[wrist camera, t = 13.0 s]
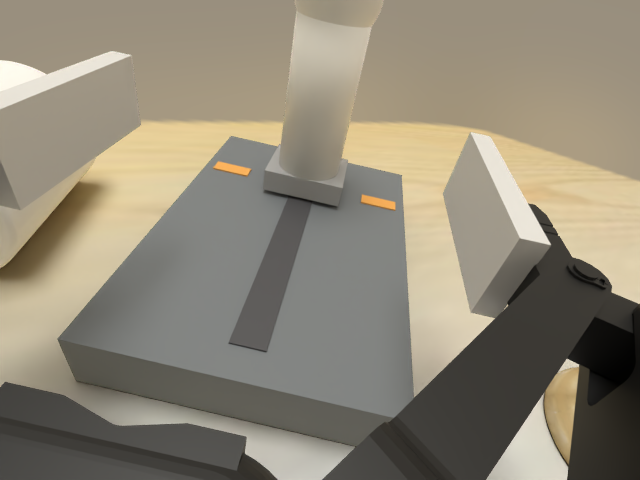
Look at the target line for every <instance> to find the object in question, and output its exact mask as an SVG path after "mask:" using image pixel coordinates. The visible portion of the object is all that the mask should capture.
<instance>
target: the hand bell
mask: <svg viewBox="0 0 640 480" xmlns="http://www.w3.org/2000/svg"><path fill="white" fill-rule="evenodd" d="M578 373H579V367H577V368H570V369H566V370H563V371H561V372H559V373H557V374H556V375H555V377H554V378H553V380H552V381H551V383H550V384H549V386H548V387H547V389H546V391H545V399H544V407H545V413H546V420H547V423H548V426H549V429H550V432H551V434H552V437H553V439H554V441H555V444H556V445H557V447H558V449H559V451H560V453H561V454H562V456H563V458H564V459H565V461H566V462H567V464H568V465H569V458H570V449H571V439H572V430H573V421H574V411H575V402H576V392H577V383H578Z"/></svg>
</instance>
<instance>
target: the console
mask: <svg viewBox="0 0 640 480" xmlns="http://www.w3.org/2000/svg"><path fill="white" fill-rule="evenodd" d="M277 148H278V147H277V146H273V145H268V144H264V143H260V142H255V141H251V140H247V139H242V138H238V137H234V136H231V137H230V138H229V139H228V140H227V141H226V143H225V144H224V145H223V146H222V147H221V149H220V150H219V151H218V152H217V153H216V154H215V156H214V157H213V158H212V159H211V160H210V161H209V163H208V164H207V165H206V166H205V167H204V168H203V170H202V171H201V172H200V173H199V174H198V175H197V177H196V178H195V179H194V180H193V181H192V182H191V184H190V185H189V186H188V187H187V188H186V189H185V191H184V192H183V193H182V194H181V195H180V196H179V198H178V199H177V200H176V201H175V202H174V203H173V205H172V206H171V207H170V208H169V209H168V210H167V212H166V213H165V214H164V215H163V216H162V217H161V219H160V220H159V221H158V222H157V223H156V224H155V226H154V227H153V228H152V229H151V230H150V231H149V233H148V234H147V235H146V236H145V237H144V238H143V240H142V241H141V242H140V243H139V244H138V245H137V247H136V248H135V249H134V250H133V251H132V252H131V254H130V255H129V256H128V257H127V258H126V259H125V261H124V262H123V263H122V264H121V265H120V266H119V268H118V269H117V270H116V271H115V272H114V273H113V275H112V276H111V277H110V278H109V279H108V280H107V282H106V283H105V284H104V285H103V286H102V287H101V289H100V290H99V291H98V292H97V293H96V295H95V296H94V297H93V298H92V299H91V300H90V302H89V303H88V304H87V305H86V306H85V307H84V309H83V310H82V311H81V312H80V313H79V314H78V316H77V317H76V318H75V319H74V320H73V321H72V323H71V324H70V325H69V326H68V327H67V328H66V330H65V331H64V332H63V333H62V334H61V335H60V337H59V338H58V342H59V344H60V346H61V348H62V351H63V353H64V355H65V357H66V360H67V362H68V364H69V366H70V368H71V371H72V373H73V375H74V377H75V380H76V381H80V382H84V383H89V384H93V385H97V386H101V387H106V388H110V389H114V390H118V391H123V392H127V393H131V394H135V395H140V396H144V397H148V398H152V399H157V400H161V401H165V402H169V403H174V404H178V405H182V406H186V407H191V408H195V409H199V410H203V411H208V412H212V413H216V414H220V415H225V416H229V417H233V418H238V419H242V420H246V421H250V422H255V423H259V424H263V425H267V426H272V427H276V428H280V429H284V430H289V431H293V432H297V433H301V434H306V435H310V436H314V437H318V438H323V439H327V440H331V441H335V442H340V443H344V444H348V445H352V446H358V445H359V444H360V443H361V442H362V441H363V440H364V439H365V438H366V437H367V436H368V435H369V434H370V433H371V432H373V431H374V430H375V429H376V428H377V427H378V426H379V425H381V424H382V423H384V422H387V423H388V422H390V421H391V420H392V419H393V418H394V417H395V416H396V415H397V414H398V413H400V412H401V411H402V410H403V409H404V408H405V407H406V406H407V405H408V404H409V403H410V402H411V401H412V400H413V399H414V392H413V374H412V356H411V338H410V320H409V301H408V283H407V265H406V247H405V229H404V211H403V193H402V175H399V174H394V173H390V172H386V171H381V170H377V169H373V168H368V167H364V166H359V165H355V164H351V163H347V168H346V173H345V178H344V183H343V188H342V192H341V196H340V200H339V205H338V206H334V205H329V204H325V203H321V202H316V201H312V200H308V199H303V198H299V197H295V196H290V195H286V194H282V193H277V192H273V191H269V190H264V189H263V182H264V171H265V169H266V167H267V165H268V163H269V162H270V160H271V158H272V156H273V155H274V153H275V151H276V149H277Z"/></svg>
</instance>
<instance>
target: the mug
mask: <svg viewBox="0 0 640 480" xmlns="http://www.w3.org/2000/svg"><path fill="white" fill-rule="evenodd" d="M44 75H46V74H45V73H42V72H41V71H39V70H36V69H34V68H32V67H29V66H26V65H23V64H20V63H16V62H11V61H3V60H0V91H3V90H6V89H9V88H11V87H14V86H17V85H20V84H22V83H25V82H28V81H31V80H33V79H36V78H39V77H42V76H44ZM95 159H96V157H95V158H94V159H92V160H91V161H90V162H88V163H87V164H85V165H84V166H83V167H81V168H80V169H78V170H77V171H75V172H74V173H73V174H71V175H70V176H68V177H67V178H66V179H64V180H63V181H61V182H60V183H59V184H57V185H56V186H54V187H53V188H52V189H50V190H49V191H47V192H46V193H45V194H43V195H42V196H40V197H39V198H37V199H36V200H35V201H33V202H32V203H30V204H29V205H28V206H26V207H25V208H23V209H22V210H17V209H12V208H8V207H4V206H0V268H2V267H3V266H5V265H6V264H7V263H8V262H9V261H10V260H11V259H12V258H13V257H14V256H15V255H16V254H17V252H18V251H19V250H20V249H21V248H22V247H23V245H24V244H25V243H26V242H27V241H28V240H29V238H30V237H31V236H32V235H33V234H34V233H35V231H36V230H37V229H38V228H39V227H40V226H41V225H42V223H43V222H44V221H45V220H46V219H47V218H48V216H49V215H50V214H51V213H52V212H53V211H54V209H55V208H56V207H57V206H58V205H59V204H60V202H61V201H62V200H63V199H64V198H65V197H66V195H67V194H68V193H69V192H70V191H71V190H72V188H73V187H74V186H75V185H76V184H77V183H78V181H79V180H80V179H81V178H82V177H83V176H84V174H85V173H86V172H87V171H88V170H89V169H90V167H91V166H92V165H93V163H94V161H95Z"/></svg>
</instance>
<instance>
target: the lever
mask: <svg viewBox="0 0 640 480" xmlns="http://www.w3.org/2000/svg"><path fill="white" fill-rule="evenodd" d="M294 2H295V6H296V19H295V27H294V36H293V45H292V53H291V62H290V70H289V79H288V88H287V96H286V105H285V113H284V122H283V131H282V139H281V145H280V144H279V146H278V148H277V149H276V151H275V153H274V155H273V156H272V158H271V160H270V162H269V163H268V165H267V167H266V169H265V171H264V182H263V189H264V190H269V191H273V192H277V193H282V194H286V195H290V196H295V197H299V198H303V199H308V200H312V201H316V202H321V203H325V204H329V205H334V206H338V205H339V200H340V196H341V192H342V188H343V183H344V178H345V173H346V168H347V163H348V160H346V159H341V157H342V153H343V149H344V144H345V140H346V136H347V131H348V127H349V123H350V118H351V114H352V110H353V105H354V101H355V97H356V92H357V88H358V84H359V79H360V75H361V71H362V66H363V62H364V58H365V53H366V49H367V45H368V41H369V36H370V32H371V28H372V25H373V23H374V22H375V21H376V19H377V17H378V16H379V13H380V11H381V9H382V5H383V2H384V0H294Z"/></svg>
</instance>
